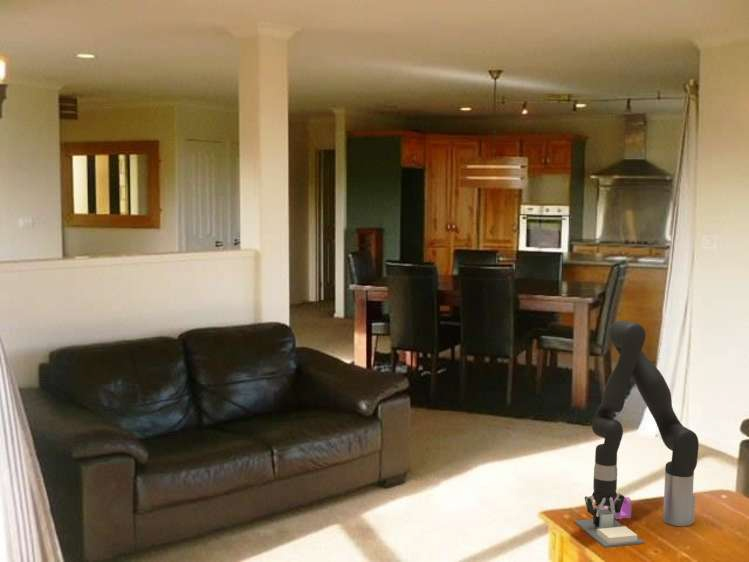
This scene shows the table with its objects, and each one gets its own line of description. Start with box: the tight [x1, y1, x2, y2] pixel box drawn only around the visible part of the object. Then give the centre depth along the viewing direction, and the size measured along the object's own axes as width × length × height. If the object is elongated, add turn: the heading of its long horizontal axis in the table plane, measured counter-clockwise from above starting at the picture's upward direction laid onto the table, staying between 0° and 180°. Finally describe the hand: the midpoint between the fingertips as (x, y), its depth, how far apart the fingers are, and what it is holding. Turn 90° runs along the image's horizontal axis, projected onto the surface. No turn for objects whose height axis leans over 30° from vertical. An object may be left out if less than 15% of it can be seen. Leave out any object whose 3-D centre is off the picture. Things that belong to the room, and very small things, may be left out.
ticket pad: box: [574, 518, 645, 548], centre depth 284 cm, size 14×21×3 cm, turn 14°
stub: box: [598, 508, 615, 528], centre depth 286 cm, size 4×5×6 cm
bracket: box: [602, 496, 633, 520], centre depth 302 cm, size 13×6×7 cm, turn 17°
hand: (603, 525), depth 287 cm, fingers closed on stub, 4 cm apart
